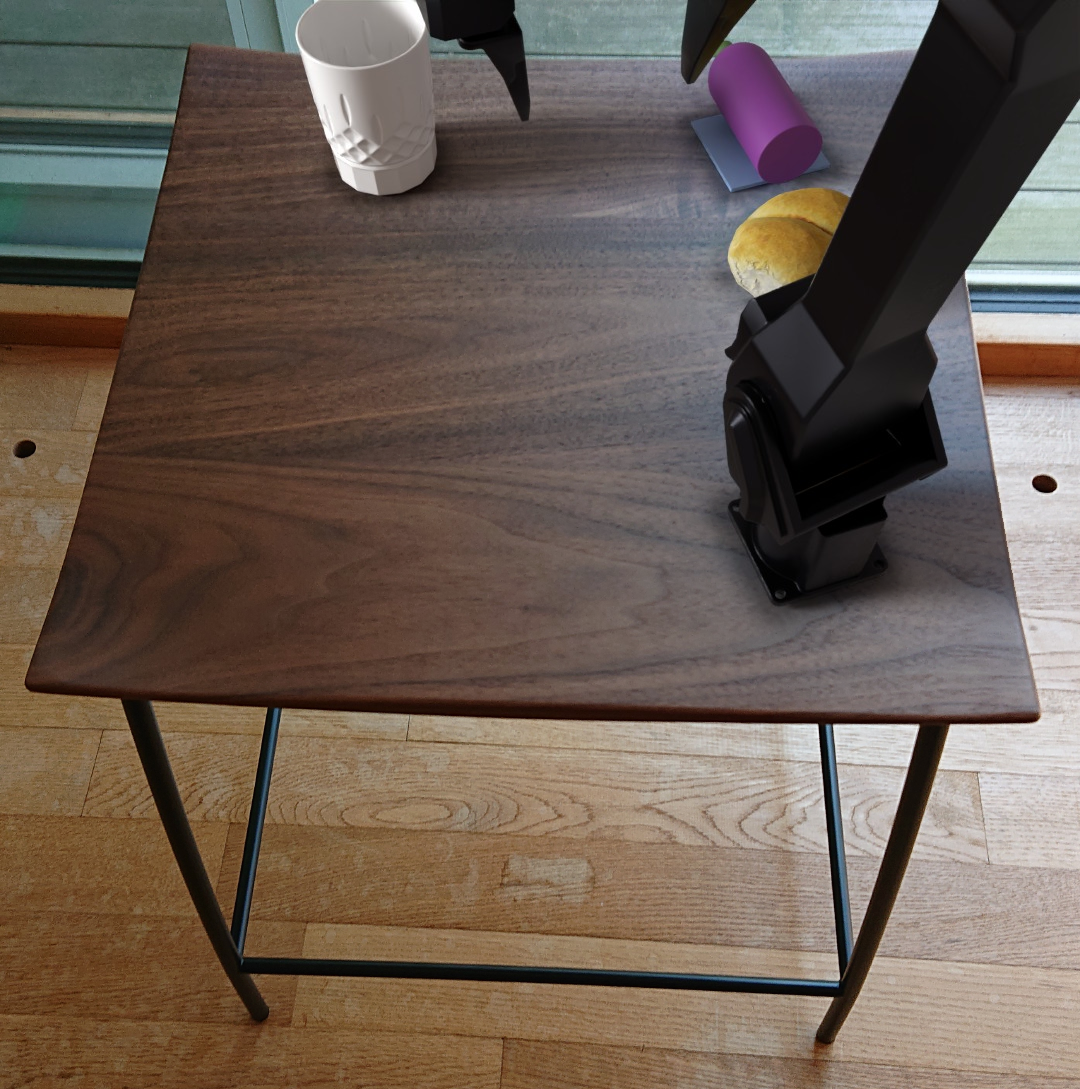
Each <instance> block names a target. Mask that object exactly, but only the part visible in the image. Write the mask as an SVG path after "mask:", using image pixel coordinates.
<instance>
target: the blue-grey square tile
mask: <svg viewBox="0 0 1080 1089" xmlns="http://www.w3.org/2000/svg"><path fill="white" fill-rule="evenodd" d="M690 126H691V127H692V129H693V131H694V132H695V134H696V136H697V138H698V139H699V141H700V143H701V144H702V146H703V147H704V150H705V151H706V153H707V155H708V156H709V158H710V160H711V161H712V163H713V165H714V167H715V169H716V170H717V172H718V173H719V174H720V177H721V178H722V180H723V182H724V184H725V185H726V187H727V188H728V190H729V192H730V193H735V192H739V191H743V190H746V189H751V188H754V187H758V186H763V185H765V184H770V183H769V182H766V181H764V180H763V179H762V178H761V177H760V176H759V174H758V173H757V171H756V169H755V168H754V166H753V164H752V163H751V161H750V160H749V158H748V156H747V155H746V153H745V151H744V150H743V148H742V146H741V145H740V143H739V141H738V140H737V138H736V136H735V135H734V133H733V131H732V130H731V128H730V126H729V125H728V123H727V121H726V120H725V118H724V116H723V115H722V113H720V114H716V115H712V116H707V117H704V118H700V119H695V120H691V121H690ZM830 166H831V163H830V161H829V160H828V159H827V157H826V156H825V154H824V153H823V151H822V150H821V151H820V153H819V156H818V157H817V159H816V160H815V162H814V163H813V164H812V166H811V167H810V168H809V169H808V170H806V171H805V172H804V173H803V174H802V175H805V174H808V173H813V172H817V171H820V170H824V169H829V168H830Z"/></svg>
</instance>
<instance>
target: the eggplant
mask: <svg viewBox="0 0 1080 1089" xmlns="http://www.w3.org/2000/svg"><path fill="white" fill-rule="evenodd" d="M713 57H714V59H713V60H712V62H711V64H710V67H709V70H708V73H707V74H708V75H707V86H708V91H709V94H710V97H711V98H712V100H713V102H714V104H715V105H716V107H717V108H718V110H719V112H720V114H722V115H723V116H724V118H725V120H726V121H727V123H728V125H729V126H730V128H731V130H732V131H733V133H734V135H735V136H736V138H737V140H738V141H739V143H740V145H741V146H742V148H743V150H744V151H745V153H746V155H747V156H748V158H749V160H750V161H751V163H752V164H753V166H754V168H755V169H756V171H757V173H758V174H759V176H760V177H761V178H762V179H763V180H764V181H766V182H769V183H768V184H783V183H787V182H790V181H793V180H794V179H797V178H799V177H800V176H802V175H804V174H803V173H804V172H805V171H806V170H808V169H809V168H810V167H811V166H812V164H813V163H814V162H815V160H816V159H817V157H818V156H819V153H820V151H822V148H823V135H822V133H821V131H820V130H819V129H818V127H817V125H816V124H815V123H814V121H813V120H812V118H811V116H810V115H809V114H808V112H807V110H806V109H805V107H804V106H803V104H802V103H801V101H800V100H799V97H798V96H797V95H796V93H795V92H794V91H793V89H792V88H791V86H790V85H789V83H788V82H787V80H786V79H785V77H784V76H783V74H782V72H781V71H780V70H779V68H778V67H777V65H776V64H775V62H774V61H773V60H772V58H771V56H770V55H769V53H768V52H767V51H766V50H765V49H764V48H763V47H761V46H759V45H758V44H756V43H753V42H749V41H739V42H738V41H737V42H734V43H732V42H731V40H724V41H723V43H722V44H721V46H720V47H719V48H718V50H717V51H716V53H715V54H714V56H713Z"/></svg>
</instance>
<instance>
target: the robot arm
mask: <svg viewBox="0 0 1080 1089" xmlns="http://www.w3.org/2000/svg"><path fill="white" fill-rule="evenodd" d="M756 1H757V0H687V1H686V9H685V16H684V22H683V29H682V30H683V31H682V38H681V45H680V46H681V47H680V74H681V77H682V79H683V80H684V82H685V84H686V85H692V84H695V83H696V82H697V80H698V79H699V77H700V76H701V74H702V73H703V72H704V70H705V69H706V67H707V66H708V64H709V63H710V62H711V60H712V59H713V57H714V54H715V53H716V51H717V50H718V48H719V47H720V46H721V44H722V43H723V41H726V39H727V37H728V36H729V35H730V33H731V32H732V30H733V29H734V28H735V27H736V25H737V24H738V23H739V22H740V20H741V19H742V18H743V17H744V16H745V15H746V14H747V12H748V11H749V10H750V9H751V8H752V6H753V5H754V4H755V3H756ZM416 2H417V5H418V7H419V10H420V12H421V15H422V17H423V20H424V22H425V25H426V27H427V30H428V32H429V38H433V39H436V40H439V41H442V42H450V41H454V40H456V42H457V45H458V47H460V48H461V49H463V50H465V51H476V50H482V51H483V52H484V54H485V55H486V56H487V57H488V59H489V60H490V62H491V63H492V65H493V66H494V67H495V69H496V70H497V72H498V73H499V74H500V76H501V78H502V81H503V82H504V85H505V87H506V89H507V91H508V94H509V96H510V98H511V100H512V103H513V105H514V108H515V110H516V112H517V115H518V116H519V119H520V121H521V122H522V123H525V122H529V120H530V114H531V95H530V94H531V93H530V86H529V85H530V84H529V78H528V68H527V60H526V51H525V41H524V34H523V30H522V27H521V26H520V23H519V21H518V19H517V17H516V14H515V11H516V0H416ZM930 19H931V20H930V22H929V24H928V26H927V28H926V31H925V33H924V35H923V37H922V40H921V42H920V44H919V46H918V48H917V50H916V53H915V55H914V56H913V59H912V61H911V63H910V66H909V68H908V70H907V73H906V75H905V76H904V79H903V81H902V83H901V85H900V87H899V90H898V92H897V94H896V97H895V98H894V101H893V103H892V105H891V107H890V109H889V112H888V114H887V116H886V118H885V120H884V122H883V124H882V126H881V129H880V132H879V134H878V136H877V138H876V140H875V143H874V144H873V147H872V149H871V151H870V153H869V156H868V158H867V160H866V162H865V164H864V166H863V168H862V171H861V173H860V176H859V177H858V180H857V182H856V184H855V186H854V188H853V190H852V192H851V195H850V196H849V197H850V199H849V201H848V204H847V206H846V208H845V210H844V212H843V215H842V217H841V219H840V221H839V223H838V226H837V228H836V230H835V232H834V234H833V237H832V239H831V241H830V243H829V245H828V248H827V250H826V252H825V254H824V256H823V258H822V261H821V263H820V265H819V267H818V269H817V272H816V273H813V274H811V275H808V276H806V277H804V278H801V279H799V280H796V281H794V282H791V283H789V284H787V285H784V286H782V287H779V288H777V289H774V290H772V291H769V292H767V293H765V294H762V295H760V296H757V297H753V298H750V299H749V301H748V302H747V304H746V305H745V307H744V309H743V310H742V311H741V313H740V315H739V321H738V326H737V332H736V336H735V339H734V340H733V342H732V344H731V345H729V346H728V347H726V348H725V349H724V354H725V356H726V357H727V358H729V359H730V360H731V363H730V365H729V367H728V370H727V373H726V380H725V391H724V394H723V398H722V412H723V425H724V438H725V439H724V440H725V450H726V461H727V462H726V463H727V468H728V473H729V476H730V477H731V479H732V480H733V481H734V483H735V484H736V486H737V487H738V488H739V496H740V497H738V498H736V499H733V500H731V501H729V503H728V506H727V510H726V512H727V515H728V518H729V519H730V521H731V524H732V526H733V527H734V530H735V532H736V534H737V537H738V538H739V540H740V542H741V544H742V546H743V549H744V550H745V552H746V554H747V556H748V559H749V561H750V563H751V565H752V567H753V570H754V571H755V573H756V576H757V578H758V579H759V580H758V581H759V582H760V584H761V586H762V588H763V590H764V592H765V594H766V596H767V598H768V600H769V602H770V603H771V604H772V605H773V606H775V607H785V606H788V605H792V604H794V603H797V602H800V601H804V600H807V599H810V598H813V597H817V596H820V595H823V594H826V593H829V592H833V591H836V590H839V589H842V588H845V587H850V586H852V585H855V584H859V583H862V582H865V581H868V580H871V579H875V578H878V577H882V576H883V575H885V574H886V573H887V570H888V568H889V562H888V560H887V558H886V556H885V554H884V553H883V550H882V548H881V547H880V545H879V544H878V539H879V537H880V535H881V532H882V531H883V529H884V527H885V525H886V523H887V520H888V519H889V514H888V511H887V509H886V508H885V506H884V503H885V500H886V497H887V496H888V495H889V494H892V493H894V492H897V491H898V490H901V489H902V488H905V487H907V486H909V485H911V484H913V483H915V482H917V481H923V480H926V479H928V478H929V477H932V476H933V475H935V474H938V473H939V472H940V471H942V470H944V469H946V468H947V467H948V465H949V460H948V457H947V453H946V449H945V444H944V441H943V437H942V433H941V429H940V424H939V421H938V418H937V413H936V409H935V406H934V402H933V401H934V400H933V397H932V394H931V389H930V384H931V382H932V379H933V376H934V375H935V372H936V370H937V366H938V363H939V358H938V356H937V354H936V351H935V349H934V347H933V344H932V341H931V339H930V337H929V335H928V334H929V333H928V329H929V327H930V325H931V323H932V322H933V320H935V318H936V316H937V314H938V313H939V311H940V310H941V309H942V307H943V305H944V304H945V302H946V301H947V299H948V298H949V297H950V295H951V294H952V292H953V290H954V289H955V287H956V286H957V285H958V283H959V281H960V280H961V278H962V277H963V276H964V274H965V272H966V271H967V269H969V266H970V265H971V264H972V262H973V261H974V259H975V257H976V256H977V254H978V253H979V252H980V250H981V249H982V247H983V245H984V244H985V243H986V241H987V240H988V238H989V236H990V235H991V233H992V232H993V230H994V229H995V227H996V226H997V224H998V223H999V222H1000V220H1001V219H1002V217H1003V215H1004V214H1005V213H1006V211H1007V209H1008V208H1009V207H1010V205H1011V203H1012V202H1013V200H1014V199H1015V198H1016V196H1017V195H1018V193H1019V191H1020V190H1021V189H1022V187H1023V185H1024V184H1025V182H1026V181H1027V179H1028V178H1029V176H1030V175H1031V173H1032V172H1033V171H1034V170H1035V169H1034V168H1036V166H1037V164H1038V163H1039V162H1040V160H1041V159H1042V157H1043V156H1044V154H1045V153H1046V151H1047V149H1048V148H1049V146H1050V145H1051V144H1052V142H1053V140H1054V139H1055V138H1056V136H1057V134H1058V133H1059V132H1060V130H1061V128H1062V127H1063V125H1064V124H1065V122H1066V121H1067V119H1068V117H1069V116H1070V115H1071V113H1072V112H1073V110H1074V109H1075V107H1077V104H1078V103H1079V101H1080V0H937V4H936V7H935V10H934V13H933V15H932V18H930ZM734 508H737V511H736V510H735V509H734ZM875 564H877V565H879V566H880V567H876V566H875ZM777 594H780V595H781V596H782V597H781V598H779V597H777V596H776V595H777Z"/></svg>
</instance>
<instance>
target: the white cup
mask: <svg viewBox="0 0 1080 1089" xmlns="http://www.w3.org/2000/svg"><path fill="white" fill-rule="evenodd" d="M295 27H296V28H295V41H296V44H297V48H298V50H299V54H300V57H301V60H302V64H303V67H304V70H305V74H306V77H307V81H308V83H309V84H308V85H309V87H310V90H311V95H312V97H313V101H314V104H315V106H316V109H317V112H318V115H319V120H320V123H321V125H322V128H323V130H324V136H325V137H326V141H327V142H328V144H329V145H330V148H331V152H332V154H333V159H334V162H335V166H336V168H337V170H338V173H339V175H340V178H341V180H342V181H343V182H344V183H345V184H347V185H349V186H350V187H351V188H353V189H355V190H356V191H357V192H359V193H365V194H369V195H374V196H387V195H395V194H402V193H405V192H407V191H409V190H411V189H413V188H415V187H417V186H419V185H421V184H423V182H424V181H425V180H426V179H427V178H428V177H429V176H430V174H431V173H433V171H434V170H435V165H436V161H437V155H438V149H437V138H436V109H435V94H434V93H435V92H434V91H435V90H434V89H435V88H434V77H433V65H432V55H431V54H432V53H431V45H430V44H431V42H430V35H429V32H428V30H427V27H426V25H425V22H424V20H423V17H422V15H421V12H420V10H419V7H418V5H417V2H416V0H316V1H315V2H314V3H312V4H311V5H310V6H309V7H307V9H305V11H304V12H303V13H302V15H301V16H300V17H299V19H298V21H297V24H296V26H295Z"/></svg>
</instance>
